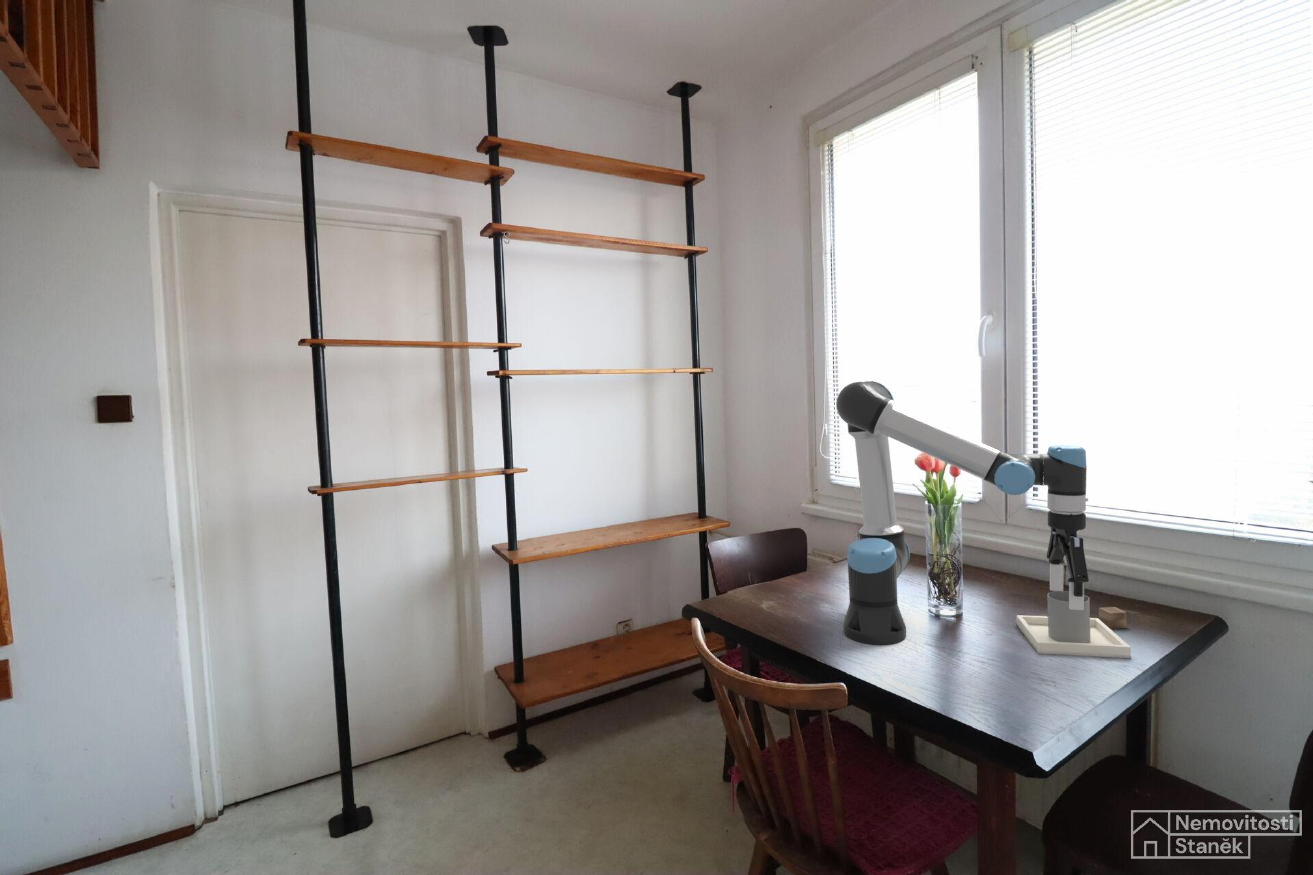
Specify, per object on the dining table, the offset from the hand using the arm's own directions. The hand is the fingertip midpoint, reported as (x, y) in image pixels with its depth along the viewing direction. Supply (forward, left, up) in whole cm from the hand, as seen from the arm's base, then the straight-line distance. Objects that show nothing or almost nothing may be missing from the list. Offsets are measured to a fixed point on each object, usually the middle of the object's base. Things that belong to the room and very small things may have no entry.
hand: (1065, 599), depth 147 cm
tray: (0, 0, -10) cm, 10 cm away
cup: (0, 0, -9) cm, 9 cm away
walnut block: (+13, +11, -10) cm, 20 cm away
